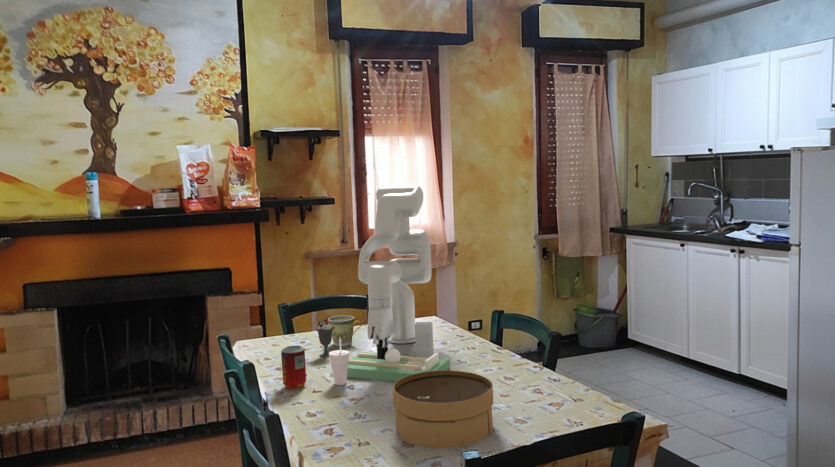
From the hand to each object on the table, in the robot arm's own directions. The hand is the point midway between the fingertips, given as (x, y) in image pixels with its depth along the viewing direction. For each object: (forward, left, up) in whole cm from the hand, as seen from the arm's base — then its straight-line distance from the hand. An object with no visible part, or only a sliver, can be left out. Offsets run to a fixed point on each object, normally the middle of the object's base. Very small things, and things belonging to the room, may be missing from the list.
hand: (382, 358), depth 208 cm
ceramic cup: (-27, -29, -4) cm, 40 cm away
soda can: (+22, -19, -4) cm, 30 cm away
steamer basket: (+38, +36, -4) cm, 52 cm away
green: (0, +4, -4) cm, 6 cm away
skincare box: (-19, +7, -4) cm, 21 cm away
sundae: (-11, -28, -4) cm, 31 cm away
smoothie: (+15, -7, -4) cm, 17 cm away
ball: (+1, +4, +1) cm, 5 cm away
